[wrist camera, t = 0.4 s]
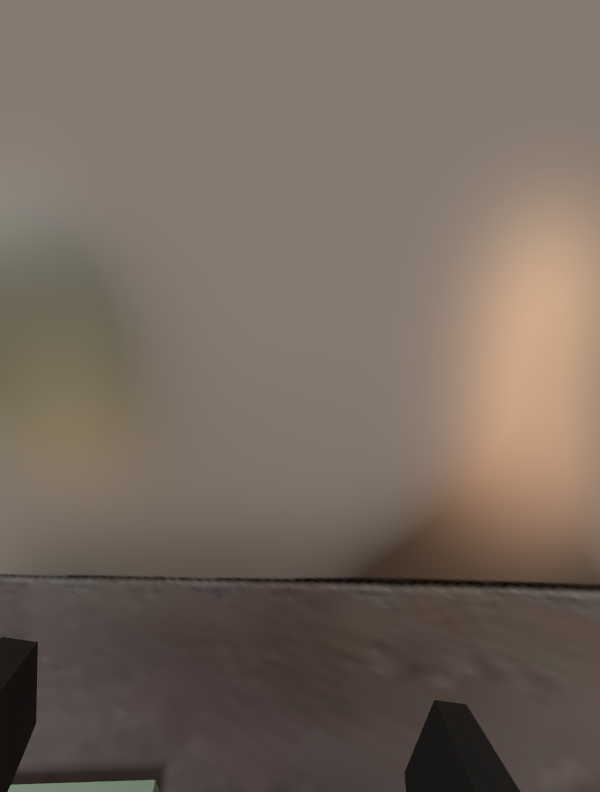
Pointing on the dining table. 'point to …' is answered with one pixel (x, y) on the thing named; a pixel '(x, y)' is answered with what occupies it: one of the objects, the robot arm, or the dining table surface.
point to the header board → (89, 787)
